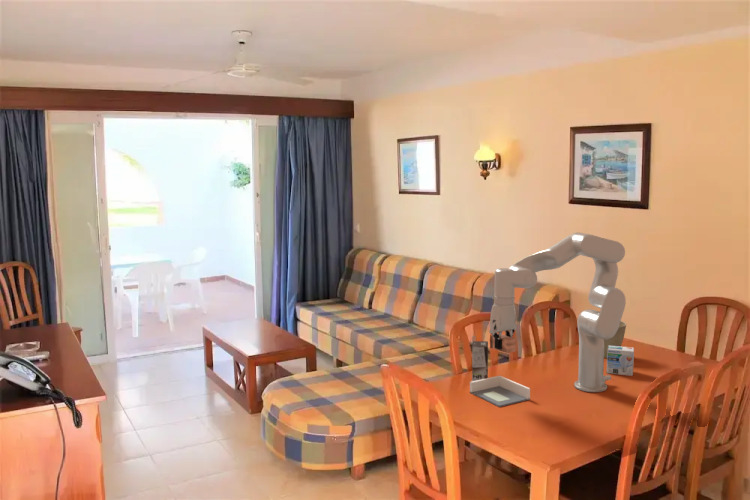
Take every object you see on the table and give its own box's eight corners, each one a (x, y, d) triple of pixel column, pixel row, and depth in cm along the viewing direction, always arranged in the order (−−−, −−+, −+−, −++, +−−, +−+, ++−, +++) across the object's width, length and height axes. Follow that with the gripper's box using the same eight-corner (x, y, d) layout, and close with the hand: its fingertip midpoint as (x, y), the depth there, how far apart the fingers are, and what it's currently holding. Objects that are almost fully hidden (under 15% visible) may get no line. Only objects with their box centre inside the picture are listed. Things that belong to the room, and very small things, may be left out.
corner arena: (499, 386, 262) (499, 375, 262) (529, 399, 247) (530, 388, 246) (469, 392, 255) (469, 381, 255) (499, 407, 240) (499, 395, 239)
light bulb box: (606, 373, 276) (607, 349, 274) (607, 368, 282) (607, 344, 281) (633, 376, 272) (634, 351, 270) (633, 371, 278) (634, 347, 277)
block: (515, 351, 245) (516, 338, 244) (507, 353, 242) (508, 340, 241) (498, 346, 252) (498, 333, 251) (490, 347, 249) (490, 335, 249)
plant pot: (588, 351, 308) (589, 318, 306) (620, 352, 306) (621, 319, 304) (594, 360, 294) (595, 326, 292) (628, 361, 292) (629, 327, 290)
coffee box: (487, 385, 264) (487, 346, 262) (471, 384, 265) (471, 346, 263) (488, 378, 273) (488, 340, 271) (472, 377, 274) (472, 340, 272)
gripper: (511, 296, 252) (510, 342, 255) (481, 302, 243) (480, 349, 245) (526, 300, 246) (525, 346, 249) (495, 305, 237) (494, 353, 239)
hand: (502, 347), depth 247 cm, fingers closed on block, 4 cm apart
